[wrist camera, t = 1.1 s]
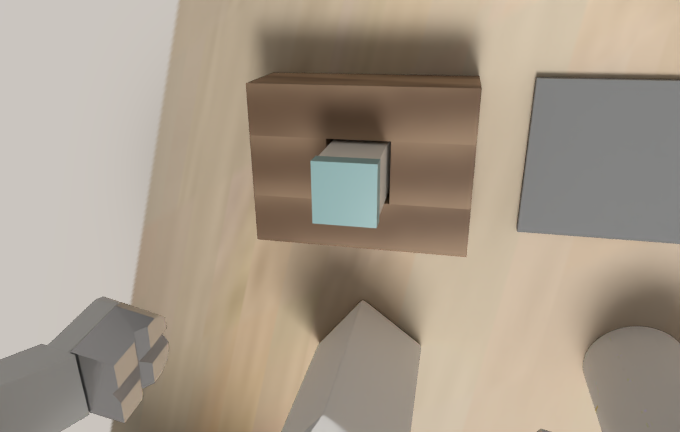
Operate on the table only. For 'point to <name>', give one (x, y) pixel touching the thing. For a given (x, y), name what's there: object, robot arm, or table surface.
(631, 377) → the cup
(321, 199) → the plug
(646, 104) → the mat
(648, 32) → the table surface
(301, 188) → the block
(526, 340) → the table surface
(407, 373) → the milk carton
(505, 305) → the table surface
